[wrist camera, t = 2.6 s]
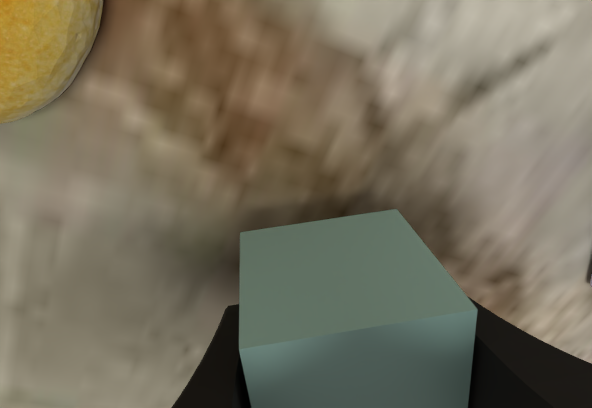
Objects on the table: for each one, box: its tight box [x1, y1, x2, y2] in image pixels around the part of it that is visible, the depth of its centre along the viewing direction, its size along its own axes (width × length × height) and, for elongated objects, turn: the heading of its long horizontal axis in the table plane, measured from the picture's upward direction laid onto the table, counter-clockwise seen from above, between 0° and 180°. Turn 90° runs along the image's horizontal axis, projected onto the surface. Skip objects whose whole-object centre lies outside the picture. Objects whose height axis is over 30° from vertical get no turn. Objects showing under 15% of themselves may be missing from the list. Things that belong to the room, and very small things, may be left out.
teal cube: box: [239, 209, 478, 408], centre depth 12 cm, size 5×5×5 cm
